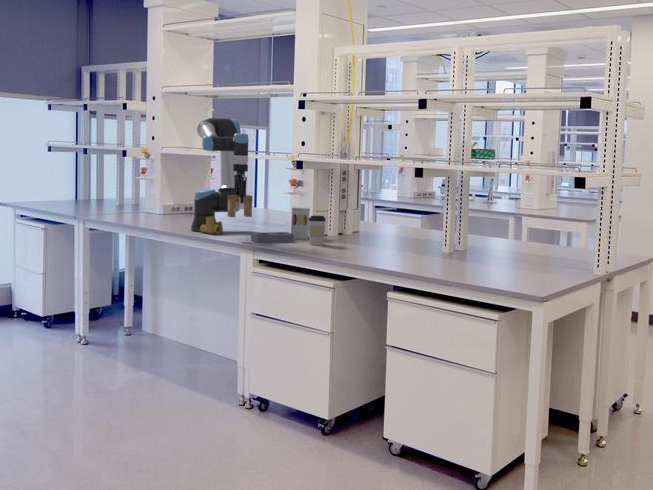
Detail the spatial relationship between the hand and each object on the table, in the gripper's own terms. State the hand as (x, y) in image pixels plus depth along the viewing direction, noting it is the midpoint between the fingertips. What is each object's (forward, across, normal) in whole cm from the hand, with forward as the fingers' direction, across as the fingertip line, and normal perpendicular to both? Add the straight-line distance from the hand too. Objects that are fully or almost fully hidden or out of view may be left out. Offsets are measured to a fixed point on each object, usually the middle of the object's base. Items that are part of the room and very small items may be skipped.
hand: (239, 208), depth 379 cm
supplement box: (+17, 0, +35) cm, 39 cm away
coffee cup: (+16, +26, +33) cm, 45 cm away
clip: (+4, 0, 0) cm, 4 cm away
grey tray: (+16, +10, +15) cm, 24 cm away
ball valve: (+17, -28, -6) cm, 33 cm away
